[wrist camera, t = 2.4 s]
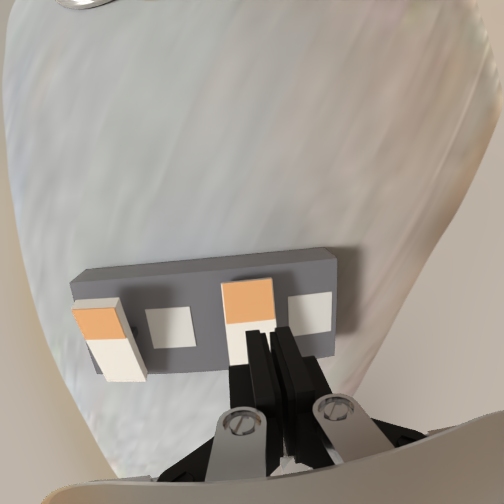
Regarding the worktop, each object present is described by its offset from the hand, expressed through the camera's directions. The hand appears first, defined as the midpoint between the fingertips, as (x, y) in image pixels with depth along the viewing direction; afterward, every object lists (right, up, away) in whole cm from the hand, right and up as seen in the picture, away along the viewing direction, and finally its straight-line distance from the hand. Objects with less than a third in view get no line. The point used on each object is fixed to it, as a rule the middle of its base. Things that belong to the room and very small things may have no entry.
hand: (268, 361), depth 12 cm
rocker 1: (-13, -4, +13) cm, 18 cm away
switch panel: (-5, -1, +20) cm, 21 cm away
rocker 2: (-1, -3, +14) cm, 14 cm away
